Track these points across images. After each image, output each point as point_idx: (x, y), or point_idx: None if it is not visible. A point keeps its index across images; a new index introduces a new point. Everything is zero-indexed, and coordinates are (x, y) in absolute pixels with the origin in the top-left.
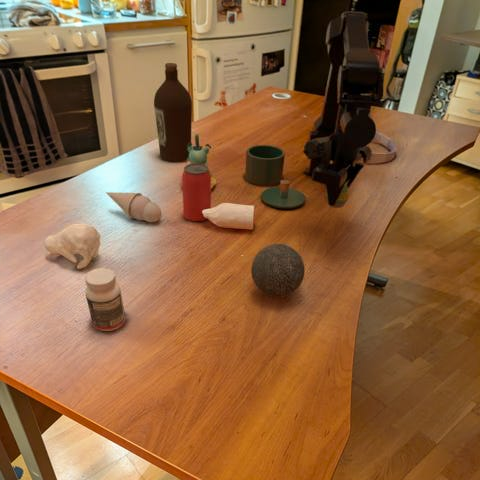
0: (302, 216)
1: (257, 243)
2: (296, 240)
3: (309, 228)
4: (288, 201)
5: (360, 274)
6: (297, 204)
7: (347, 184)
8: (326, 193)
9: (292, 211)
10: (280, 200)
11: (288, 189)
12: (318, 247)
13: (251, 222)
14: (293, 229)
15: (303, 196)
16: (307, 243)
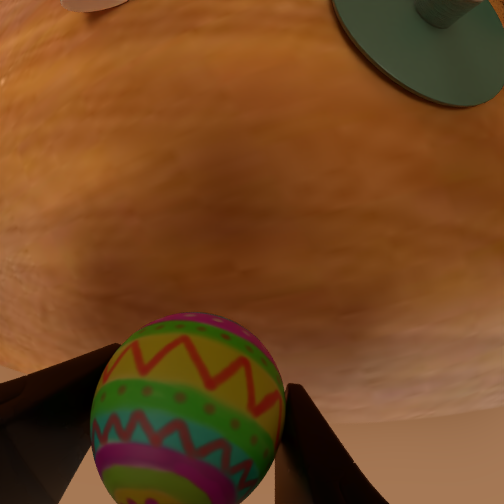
0: (331, 121)
1: (51, 70)
2: (112, 171)
3: (230, 186)
4: (404, 33)
5: None
6: (400, 76)
7: (281, 498)
8: (139, 340)
9: (355, 67)
10: (390, 1)
11: (454, 12)
12: (111, 264)
13: (63, 4)
14: (186, 123)
15: (481, 96)
16: (113, 218)
